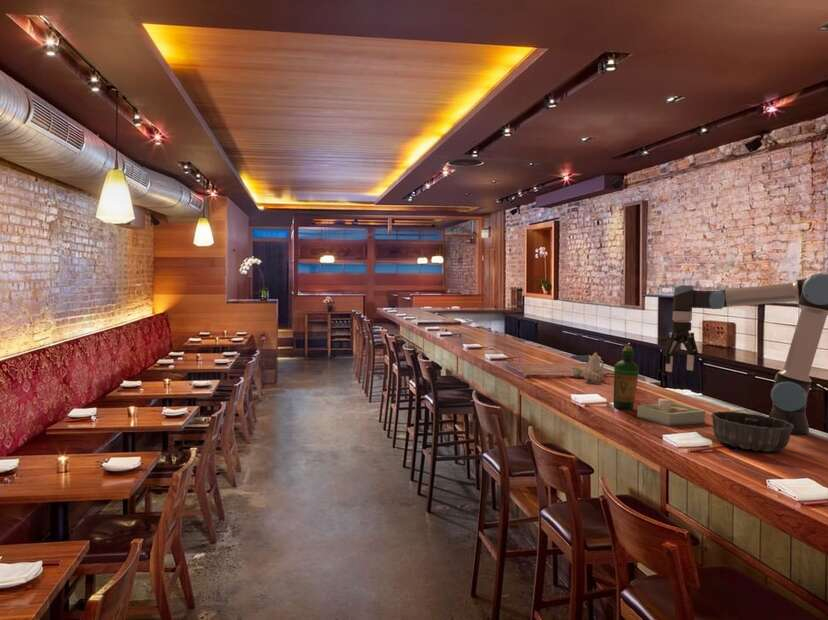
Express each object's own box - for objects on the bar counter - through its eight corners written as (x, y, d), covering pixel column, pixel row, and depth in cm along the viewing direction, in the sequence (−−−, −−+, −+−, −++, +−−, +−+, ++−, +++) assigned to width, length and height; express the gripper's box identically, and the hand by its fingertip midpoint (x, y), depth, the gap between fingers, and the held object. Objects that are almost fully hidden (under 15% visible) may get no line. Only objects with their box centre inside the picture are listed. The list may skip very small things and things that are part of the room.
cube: (686, 420, 253) (687, 409, 253) (678, 421, 251) (679, 409, 251) (676, 418, 258) (677, 406, 257) (668, 418, 255) (669, 407, 255)
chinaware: (564, 378, 364) (563, 350, 363) (589, 375, 369) (588, 348, 367) (589, 387, 337) (589, 357, 336) (616, 384, 342) (615, 355, 340)
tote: (704, 422, 255) (705, 411, 255) (668, 426, 245) (669, 414, 245) (672, 414, 270) (673, 402, 269) (637, 417, 259) (638, 405, 259)
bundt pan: (718, 432, 240) (720, 407, 239) (796, 447, 223) (799, 420, 223) (700, 444, 220) (702, 417, 219) (784, 462, 203) (787, 432, 202)
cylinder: (672, 417, 259) (673, 400, 259) (664, 417, 257) (665, 401, 257) (662, 414, 264) (664, 398, 263) (654, 415, 261) (656, 398, 261)
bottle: (620, 411, 270) (624, 348, 268) (606, 405, 280) (611, 345, 278) (640, 410, 272) (645, 348, 271) (626, 405, 283) (631, 345, 281)
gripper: (693, 320, 270) (690, 368, 271) (654, 320, 258) (652, 370, 258) (708, 321, 263) (706, 370, 264) (669, 322, 251) (667, 373, 252)
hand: (679, 370), depth 261 cm, fingers open, 13 cm apart
